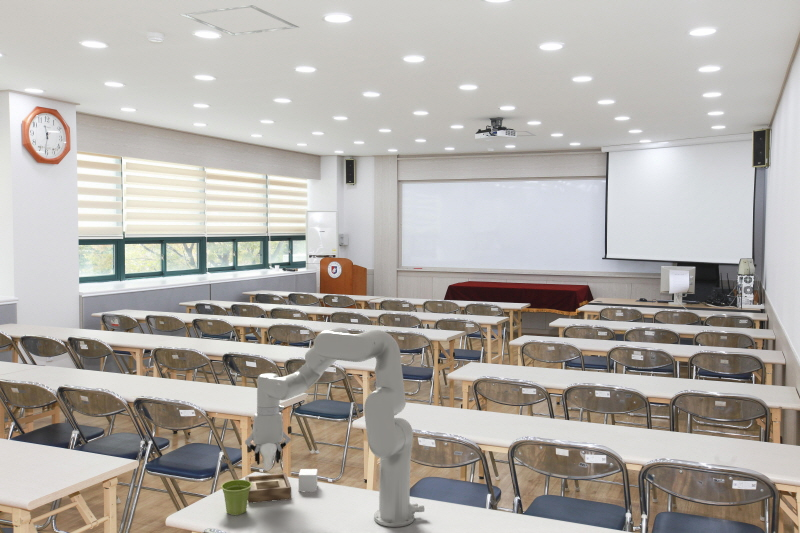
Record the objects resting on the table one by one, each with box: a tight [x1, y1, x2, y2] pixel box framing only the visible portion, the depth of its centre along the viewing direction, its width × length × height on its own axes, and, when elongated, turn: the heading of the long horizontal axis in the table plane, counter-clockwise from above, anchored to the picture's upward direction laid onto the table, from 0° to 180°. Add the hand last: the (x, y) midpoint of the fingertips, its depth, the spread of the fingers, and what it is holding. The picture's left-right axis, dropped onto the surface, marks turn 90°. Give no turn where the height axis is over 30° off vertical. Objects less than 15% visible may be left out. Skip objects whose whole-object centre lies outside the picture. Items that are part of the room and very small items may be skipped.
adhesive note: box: [298, 468, 318, 493], centre depth 236 cm, size 6×6×6 cm
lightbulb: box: [259, 443, 277, 472], centre depth 231 cm, size 6×6×11 cm
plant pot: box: [220, 479, 252, 516], centre depth 216 cm, size 9×9×9 cm
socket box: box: [244, 472, 292, 504], centre depth 231 cm, size 14×14×4 cm
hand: (267, 462), depth 231 cm, fingers closed on lightbulb, 5 cm apart
